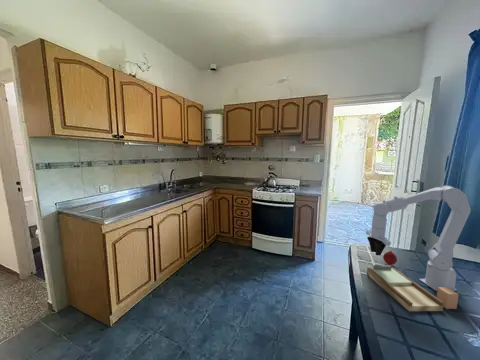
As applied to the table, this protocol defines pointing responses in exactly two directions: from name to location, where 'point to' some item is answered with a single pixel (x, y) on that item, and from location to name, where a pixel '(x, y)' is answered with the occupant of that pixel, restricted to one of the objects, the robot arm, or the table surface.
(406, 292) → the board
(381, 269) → the lid
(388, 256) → the onion
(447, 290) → the block
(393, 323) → the table surface
